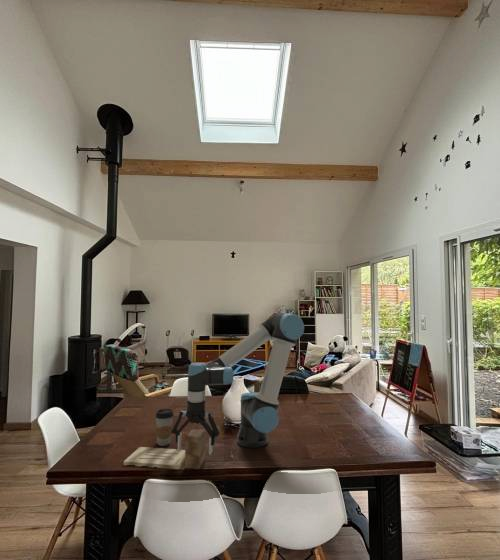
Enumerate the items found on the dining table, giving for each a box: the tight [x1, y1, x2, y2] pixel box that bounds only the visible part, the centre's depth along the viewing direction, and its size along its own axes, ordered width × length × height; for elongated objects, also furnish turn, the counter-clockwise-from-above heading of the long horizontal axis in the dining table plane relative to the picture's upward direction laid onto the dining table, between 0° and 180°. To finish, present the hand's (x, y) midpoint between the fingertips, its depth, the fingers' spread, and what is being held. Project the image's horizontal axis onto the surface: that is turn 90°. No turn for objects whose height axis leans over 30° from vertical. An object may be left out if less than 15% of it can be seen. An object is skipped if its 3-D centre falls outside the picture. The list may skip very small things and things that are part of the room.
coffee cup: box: [155, 408, 174, 447], centre depth 157 cm, size 8×8×15 cm
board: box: [123, 446, 185, 470], centre depth 140 cm, size 24×14×2 cm, turn 82°
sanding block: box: [184, 429, 207, 470], centre depth 137 cm, size 6×9×12 cm, turn 172°
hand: (194, 451), depth 137 cm, fingers open, 13 cm apart
